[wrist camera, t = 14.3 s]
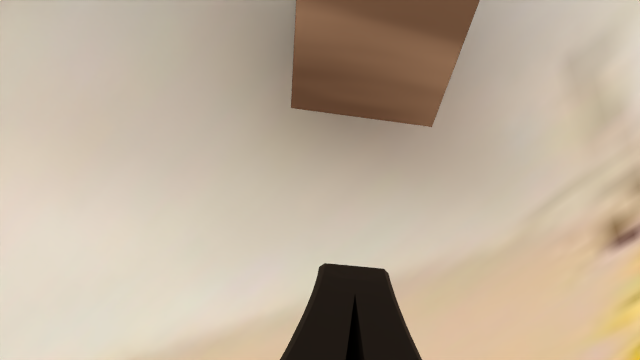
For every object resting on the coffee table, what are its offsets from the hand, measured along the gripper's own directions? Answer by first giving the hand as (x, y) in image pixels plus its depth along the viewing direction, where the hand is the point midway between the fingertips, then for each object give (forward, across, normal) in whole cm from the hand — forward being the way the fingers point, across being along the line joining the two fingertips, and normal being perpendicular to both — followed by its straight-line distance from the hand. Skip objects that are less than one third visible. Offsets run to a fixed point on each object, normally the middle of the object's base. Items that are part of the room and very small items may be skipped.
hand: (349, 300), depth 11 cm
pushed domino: (+10, 0, 0) cm, 10 cm away
